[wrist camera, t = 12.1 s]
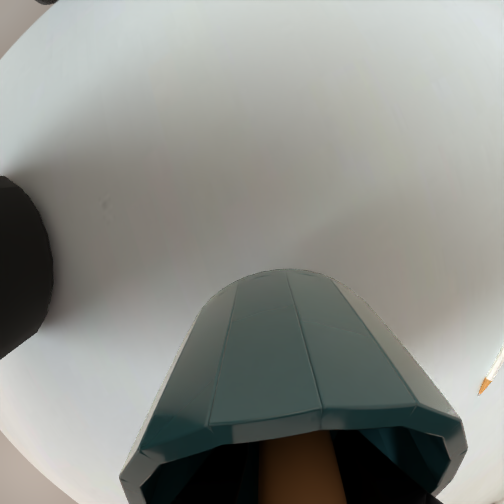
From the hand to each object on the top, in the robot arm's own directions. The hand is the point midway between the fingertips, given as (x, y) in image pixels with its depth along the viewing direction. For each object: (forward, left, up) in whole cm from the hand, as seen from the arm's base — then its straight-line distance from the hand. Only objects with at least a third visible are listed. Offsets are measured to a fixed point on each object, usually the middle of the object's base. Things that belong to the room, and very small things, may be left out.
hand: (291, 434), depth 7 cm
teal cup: (0, 0, -4) cm, 4 cm away
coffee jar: (-13, -12, -7) cm, 19 cm away
